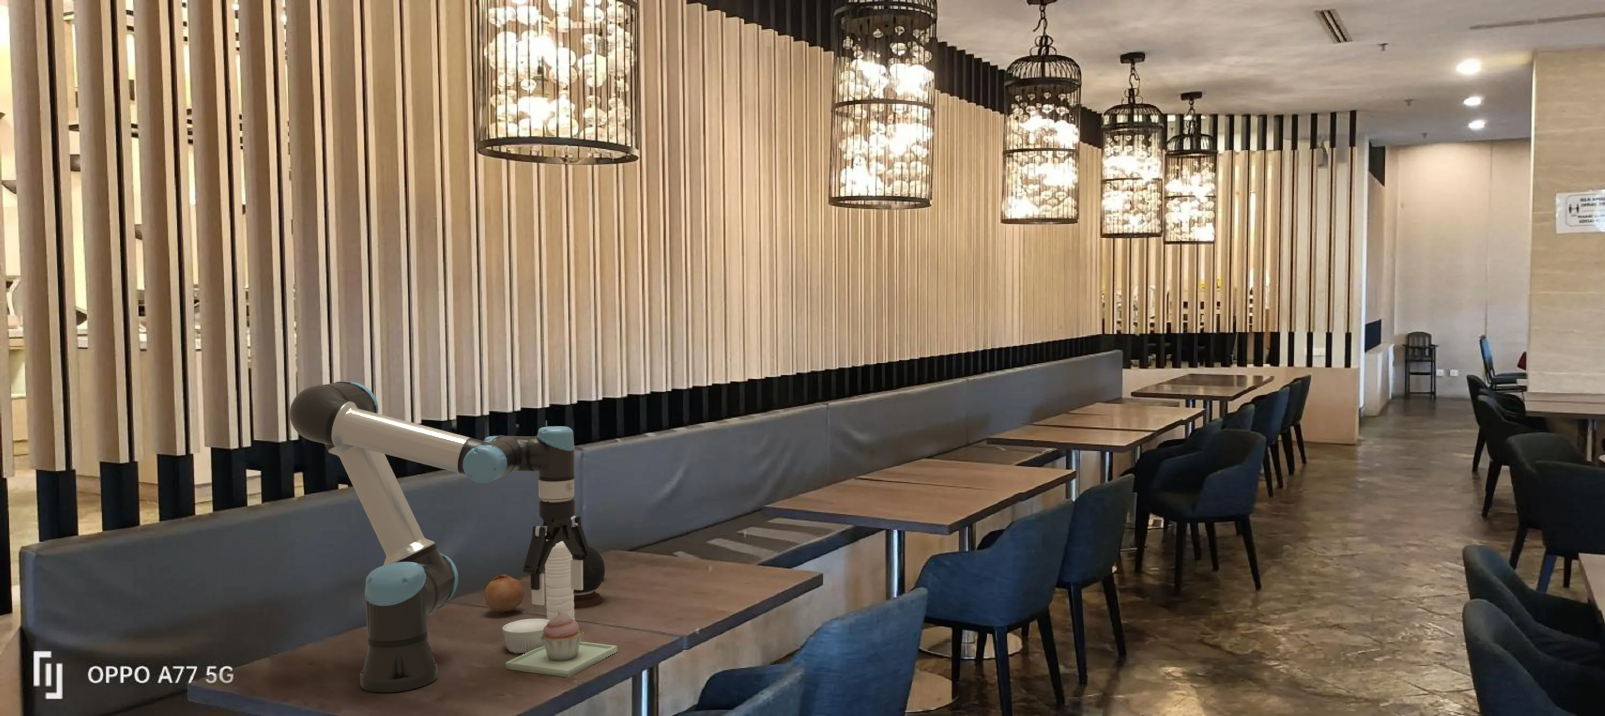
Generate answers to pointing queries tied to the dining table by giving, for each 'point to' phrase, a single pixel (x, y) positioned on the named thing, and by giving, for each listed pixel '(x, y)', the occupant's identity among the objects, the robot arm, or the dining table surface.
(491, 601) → the onion
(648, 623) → the dining table surface
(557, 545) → the water bottle
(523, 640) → the ramekin
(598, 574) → the black ball on stand
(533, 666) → the tray
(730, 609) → the dining table surface
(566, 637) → the cupcake
